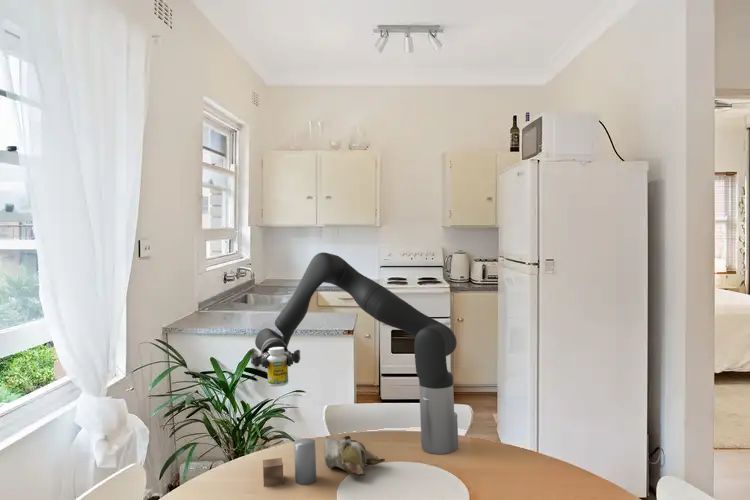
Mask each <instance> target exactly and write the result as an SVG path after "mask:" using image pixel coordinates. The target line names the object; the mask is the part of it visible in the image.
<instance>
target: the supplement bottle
mask: <svg viewBox="0 0 750 500" xmlns="http://www.w3.org/2000/svg"><path fill="white" fill-rule="evenodd" d="M284 352H285V351H284V347H273V348H270V349H269V354H270V356H269V357H268V358H267V364H268V368H266V369H267V384H268V386H270V387H283V386H286V385H288V383H289V367H288V361H287V356H286V355H284Z"/></svg>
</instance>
